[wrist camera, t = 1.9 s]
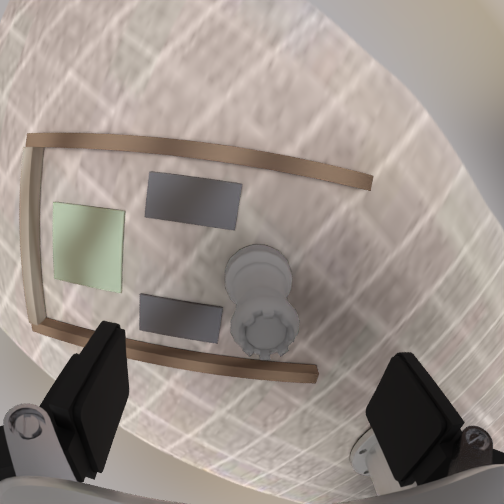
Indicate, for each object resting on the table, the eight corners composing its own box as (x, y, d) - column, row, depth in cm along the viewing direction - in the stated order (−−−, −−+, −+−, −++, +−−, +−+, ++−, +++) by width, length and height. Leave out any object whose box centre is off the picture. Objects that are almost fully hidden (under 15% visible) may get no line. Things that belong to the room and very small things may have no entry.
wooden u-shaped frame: (366, 174, 19) (375, 176, 18) (312, 374, 24) (316, 385, 22) (36, 133, 17) (24, 133, 16) (39, 324, 22) (30, 332, 20)
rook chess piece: (247, 314, 22) (250, 389, 14) (211, 264, 21) (195, 323, 13) (301, 283, 21) (332, 347, 14) (269, 229, 20) (286, 272, 12)
